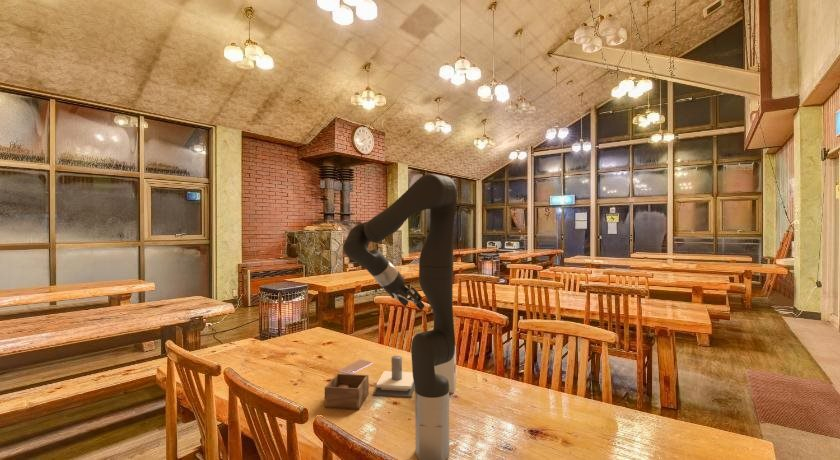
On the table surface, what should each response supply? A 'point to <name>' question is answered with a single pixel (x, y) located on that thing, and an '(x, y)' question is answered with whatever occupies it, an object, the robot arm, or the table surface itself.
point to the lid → (396, 377)
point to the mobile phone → (355, 367)
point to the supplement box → (448, 372)
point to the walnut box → (346, 391)
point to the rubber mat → (394, 392)
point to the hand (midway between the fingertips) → (414, 306)
